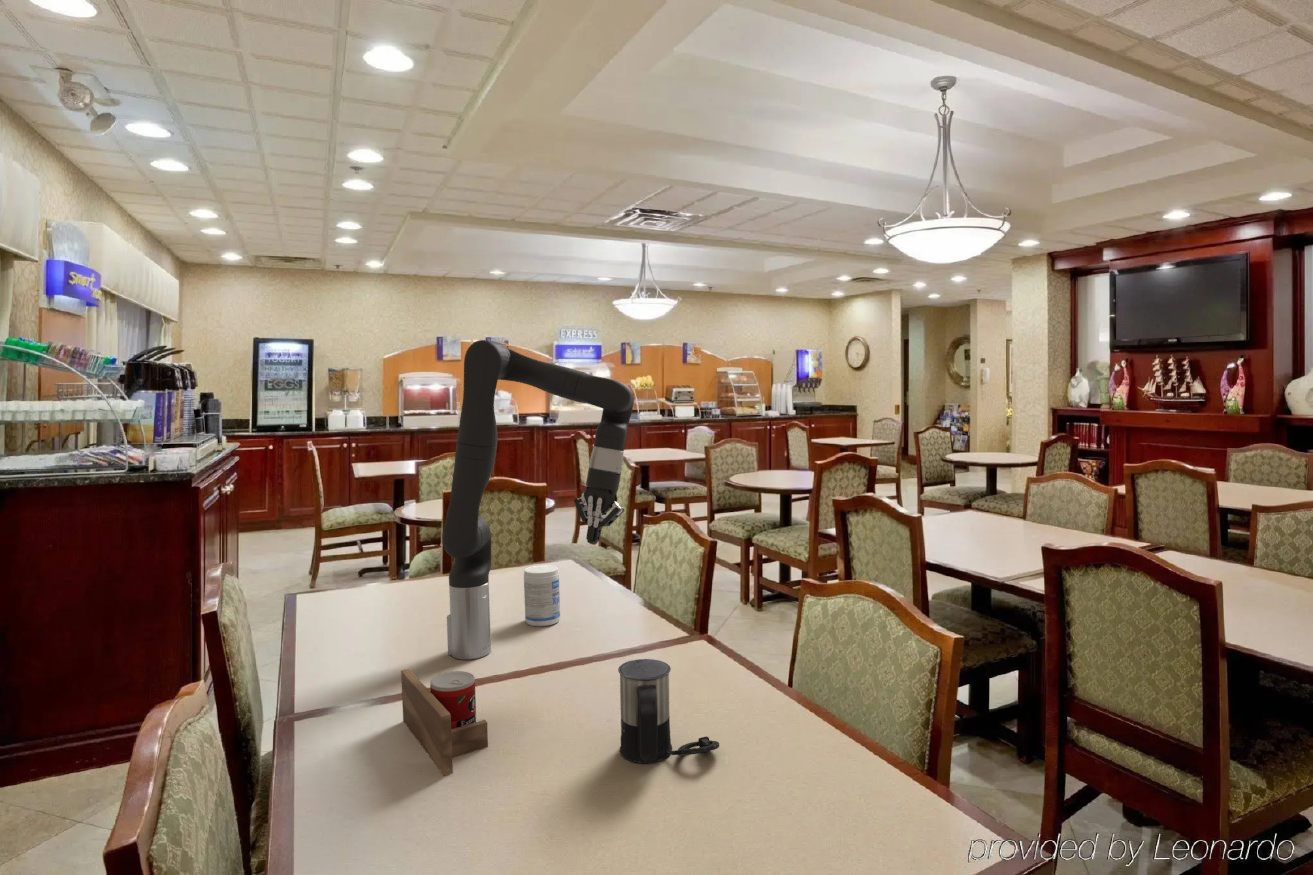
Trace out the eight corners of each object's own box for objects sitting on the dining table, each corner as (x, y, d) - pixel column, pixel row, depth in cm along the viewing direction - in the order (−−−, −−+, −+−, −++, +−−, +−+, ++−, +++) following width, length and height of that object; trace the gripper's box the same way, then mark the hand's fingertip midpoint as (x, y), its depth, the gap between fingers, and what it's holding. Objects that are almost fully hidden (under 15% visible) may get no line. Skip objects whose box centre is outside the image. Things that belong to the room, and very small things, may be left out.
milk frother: (612, 743, 127) (610, 662, 126) (692, 726, 133) (691, 649, 132) (641, 784, 114) (639, 694, 112) (728, 763, 120) (727, 677, 118)
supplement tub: (562, 625, 191) (560, 571, 190) (526, 629, 188) (524, 574, 187) (558, 614, 200) (557, 563, 199) (524, 617, 198) (522, 565, 197)
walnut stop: (451, 708, 142) (450, 659, 141) (498, 758, 122) (496, 701, 122) (403, 721, 136) (401, 670, 136) (443, 775, 117) (441, 716, 116)
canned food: (465, 750, 125) (463, 689, 124) (423, 746, 127) (421, 686, 126) (484, 729, 133) (482, 672, 132) (444, 726, 134) (442, 669, 134)
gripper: (572, 462, 163) (559, 537, 162) (621, 472, 156) (607, 550, 156) (590, 465, 169) (578, 537, 169) (637, 474, 163) (625, 548, 162)
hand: (592, 543), depth 162 cm, fingers closed
